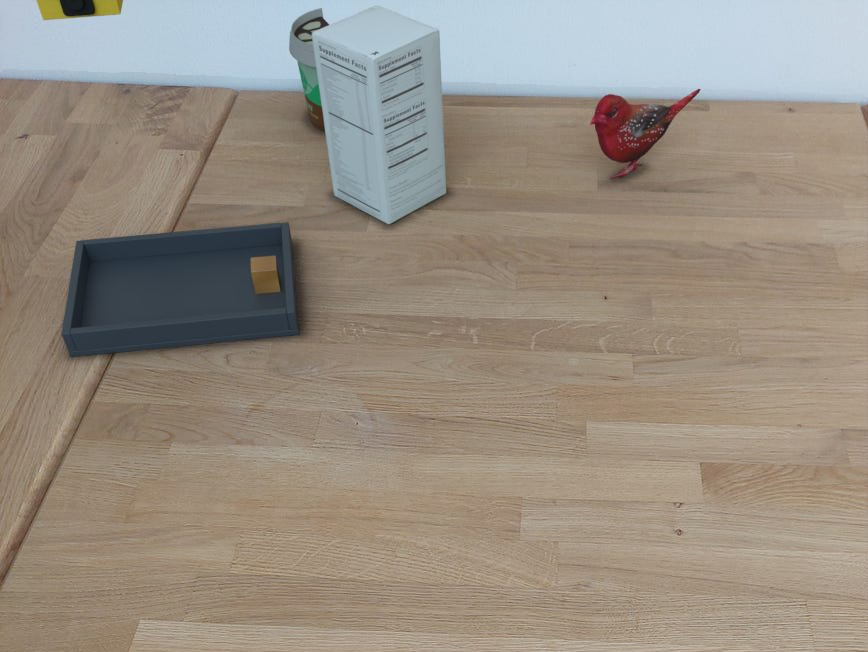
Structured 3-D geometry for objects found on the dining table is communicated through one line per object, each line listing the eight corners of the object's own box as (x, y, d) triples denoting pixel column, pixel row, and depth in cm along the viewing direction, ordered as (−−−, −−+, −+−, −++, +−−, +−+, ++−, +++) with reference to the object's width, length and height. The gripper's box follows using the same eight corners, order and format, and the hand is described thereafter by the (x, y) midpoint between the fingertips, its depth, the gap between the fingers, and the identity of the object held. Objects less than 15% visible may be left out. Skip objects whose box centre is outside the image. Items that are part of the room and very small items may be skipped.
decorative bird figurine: (574, 190, 109) (582, 97, 100) (682, 138, 115) (697, 48, 107) (592, 200, 107) (601, 107, 99) (700, 148, 114) (716, 57, 106)
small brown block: (255, 294, 96) (250, 272, 94) (255, 279, 98) (250, 257, 96) (280, 292, 96) (276, 269, 94) (280, 277, 98) (275, 255, 96)
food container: (285, 105, 120) (270, 16, 112) (331, 94, 122) (320, 6, 114) (321, 149, 114) (309, 58, 106) (369, 137, 116) (360, 47, 108)
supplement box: (449, 194, 108) (444, 29, 94) (389, 227, 104) (375, 60, 91) (390, 164, 112) (377, 1, 98) (330, 195, 108) (308, 29, 94)
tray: (70, 357, 91) (60, 334, 89) (84, 263, 100) (76, 240, 98) (299, 334, 93) (294, 311, 91) (292, 244, 102) (288, 221, 100)
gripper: (-13, -245, 92) (56, -27, 107) (-44, -192, 82) (36, 40, 97) (68, -249, 93) (125, -31, 107) (46, -197, 83) (112, 35, 97)
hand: (82, 0), depth 102 cm, fingers closed on sponge, 5 cm apart
